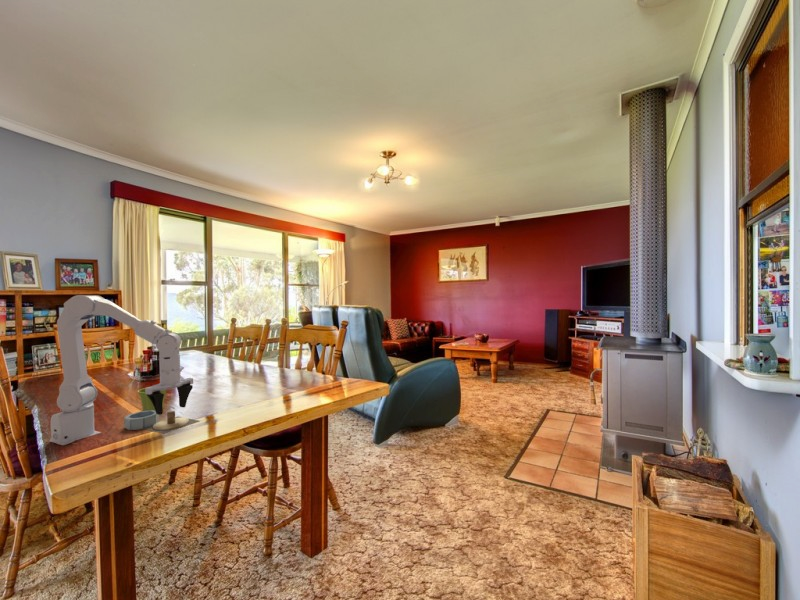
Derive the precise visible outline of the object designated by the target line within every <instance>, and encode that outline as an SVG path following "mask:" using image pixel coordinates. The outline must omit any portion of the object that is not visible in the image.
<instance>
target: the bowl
mask: <svg viewBox="0 0 800 600" xmlns="http://www.w3.org/2000/svg"><path fill="white" fill-rule="evenodd" d="M159 417H160V415H159V414H156V411H154V410H149V411H143V410H142V411H137V412H134V413H133V412H132V413H129V414H127V415H126V416H125V417H124V418H123V419H124V421H123V422H124V429H126V430H128V431H135V430H143V429H142V428H147V427H150V426H153V425H154V424H155V423H157V422H160V420H159V419H160V418H159Z"/></svg>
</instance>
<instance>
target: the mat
mask: <svg viewBox="0 0 800 600" xmlns="http://www.w3.org/2000/svg"><path fill="white" fill-rule="evenodd" d="M175 418H184V417H182V416H175ZM188 419H189V422H188V423H187V424H186V425H184V426H181V427H178V428H174V429H169V430H155V429H153V426H150V427H147V428H142V429H141V430H146V431H150V432H154V433H158V434H163V435H164V434H168V433H171V432H173V431H177V430H179V429H182V428H184V427H188V426H190V425H193V424H196V423H199V422H200V420H198V419H193V418H188Z"/></svg>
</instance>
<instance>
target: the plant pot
mask: <svg viewBox="0 0 800 600" xmlns="http://www.w3.org/2000/svg"><path fill="white" fill-rule="evenodd" d="M145 388H146V387H145ZM145 388H141V389H138V390H137V394H138V396H139V398H140V401H141V406H142V408H141V409H142V411H149V410H154V411H155V408H154V406H153V404H152V402H151V400H150V399H149V397H148V396H147V394H145ZM160 392H161V393H162V394H164V397H163V404H162V406H163V409H164V407H165V406H164V405H165V400H166V399H165V398H166V394H167V390H163V391H160Z"/></svg>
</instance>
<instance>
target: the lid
mask: <svg viewBox="0 0 800 600" xmlns="http://www.w3.org/2000/svg"><path fill="white" fill-rule="evenodd" d="M166 416H167V417H166V419H162V420H159V421H158V422H157V423H155V424H154V425H153V429H155V430H169V429H174V428H178V427H181V426H184V425H186V424H187V423H188V422H189V419H190V418H188V417H183V418H175V417H176V410H170V411H168V412H166Z"/></svg>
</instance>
